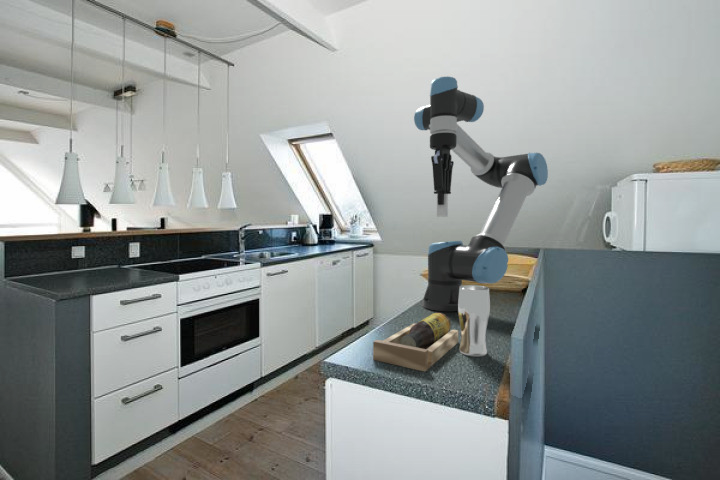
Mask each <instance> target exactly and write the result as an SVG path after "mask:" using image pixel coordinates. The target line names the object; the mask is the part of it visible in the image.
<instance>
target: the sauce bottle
mask: <svg viewBox="0 0 720 480" xmlns="http://www.w3.org/2000/svg"><path fill="white" fill-rule="evenodd" d="M414 324H415V325H413V326H412V328H411V329H410V331H409V334H407V335H405V336H404V337H402V338H401V341H400V344H401V345H406V346H412V347H417V348H422V349H428V348H429V347H430V346H431V345H433V344H434V343H435V342H437V341H438V340H439V339H441V338H442V337H443V336H445V335H446V334H447V333H449V332H450V331H451V327H452V326H451V325H452V324H451V320H450V318H449V317H448V316H447V315H446V314H445V313H442V312H435V313H434V312H433V313H432V314H430V315H429V316H427V317H425V318H423V319H422V320H420V321H418V322H416V323H414Z"/></svg>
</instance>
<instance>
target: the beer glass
mask: <svg viewBox="0 0 720 480" xmlns="http://www.w3.org/2000/svg"><path fill="white" fill-rule="evenodd" d="M490 299H491V298H490V288H489V287H488V286H483V285H477V284H476V285H474V284H473V285H471V284H468V285H467V284H465V285H462V286H460V287H459V297H458V311H457V313H458V320H459V325H460V331H461V332H460V334H461V336H460V338H461V339H460V344H459V349H458V351H459V352H460V353H461V354H462V355H465V356H468V357H475V358H476V357H478V358H479V357H484V356H486V355H487V353H488V351H487V343H486V333H487V329H488V328H487V327H488V324H489V323H488V322H489V319H490V318H489V317H490V312H491V311H490V309H491V301H490Z"/></svg>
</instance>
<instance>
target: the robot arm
mask: <svg viewBox="0 0 720 480" xmlns="http://www.w3.org/2000/svg"><path fill="white" fill-rule="evenodd" d="M458 87H459V86H458V80H457V78H455V77H454V76H440V77H438V78H435V79H433V80H432V81H431V84H430V91H429V98H430V99H429V100H430V101H429V102H430V103H429V104H427V105H424V106H421V107H419V108H417V110H416V111H415V112H414V115H413V116H414V117H413V121H414V125H415V127H416V128H417V129H418V130H419V131H428V130H429V133H430V136H429V148H430V149H431V150H433V151H434V155H431V156H430V157H431V158H430V160H431V165H432V178H433V190H434V191H433V194H434V195H436V217H437V218H438V217H443V218H445V217H448V213H449V209H448V203H449V202H448V201H449V199H448V198H449V196H448V195H451V193H452V192H451V190H452V189H451V188H452V178H453V177H452V175H453V168H454V161H453V160H452V154H451V151H452V152H453V153H454V154H455V155H457V157H458V158H460V160H462V161H463V162H464V163H465V164H466V165H467V166H468V167H469V168H470V171H471V173H472V174H473V175H474V176H475V177H476V178H477V179H479V180H480V181H482V182H484V183H486V184H487V185H489V186H491V187H495V188H500V189H501V190H500V192H499V194H498V196H497V198H496V199H495V202H494V204H493V206H492V208H491V210H490V212H489V214H488V216H487V218H486V219H485V222H484V223H483V225H482V227H481V230H480V231H479V234H474V235H473V236H472V237H471V239H470V241H469V243H468V244H467V245H465V244H463V241H462V240H452V241H441V242H433V243H431V244H430V245H429V246H428V254H427V275H428V276H427V279H428V281H427V287H426V289H425V293H424V294H423V298H422V306H423V308H425V309H427V310H431V311H437V312H458V297H459V287H460V286H463V281H466V282H467V281H468V282H475V283H479V284H495V283H498V282H500V281H501V280H502V279H503V277H504V276H505V275H506V273H507V270H508V267H509V265H508V263H509V255H508V253H507V248H506V247H505V243H506V241H507V239H508V237H509V234H510V232H511V231H512V228H513V226H514V224H515V222H516V220H517V217H518V216H519V213H520V211H521V209H522V207H523V204H524V202H525V200H526V198H527V197H528V196H531V195H532V194H533V193H534V191H535V190H536V187H537V186H539V187H540V186H541V187H542V186H544V185H546V183H547V182H548V177H549V170H548V164H547V160H546V158H545V157H544V155H543V154H542V153H540V152H528V153H525V154H523V153H522V154H517V155H516V154H515V155H509V156H501V157H498V156H494V154H492V153H491V152H486V151H485V150H484V149H483V148H482V147H481V146H480V145H479V144H478V142H476V141H475V140H474V139H473V138H472V137H471V136H470V135H469V134H468V133H467V132H466V131H465V130H464V129H463V128H462V127H461V126H460V125H459V124H458V122H463V121H464V122H465V123H475V122H476V121H478V120H479V119H481V117H482V115H483V113H484V110H485V105H484V102H483V100H482V99H481V98H480V97H477V96H476V95H474V94H471V93H467V92H464V91H461V90H460V89H458Z"/></svg>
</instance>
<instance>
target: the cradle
mask: <svg viewBox="0 0 720 480" xmlns="http://www.w3.org/2000/svg"><path fill="white" fill-rule="evenodd" d="M415 324H416V323H412V324H411V325H409V326H406V327H404V328H403V329H401V330H400V331H397V332H396V333H394V334H391V335H390V336H388V337H387V338H385V339H383V340H380V339H375V340H374V341H373V342H372V344H373V345H372V346H373V347H372V350H373V351H372V352H373V353H372V356H373V357H372V359H373V361H376V362H377V361H378V362H383V363H386V364H390V365H396V366H399V367H404V368H408V369H412V370H417V371H419V372H420V371H421V372H426V371H428V370H429V369H430V368H431V367H432V366H433V365H434V364H436V363H437V362H438V361H439V360H440V359H441V358H443V356H445V355H446V354H447V353H448V352H449V351H451V349H452V348H454V347H455V346H456V345H457V344H458V343H459V330H457V329H450V331H449V332H448V333H447V334H446V335H445V336H443V337H442V338H441V339H439V340H438V341H437V342H435V343H434V344H433V345H431V346H430V347H427V348H425V349H422V348H417V347H412V346H406V345H401V344H400V341H401V338H402V337H404V336H405V335H407V334H409V331H410V329H411V328H412V326H413V325H415Z"/></svg>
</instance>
